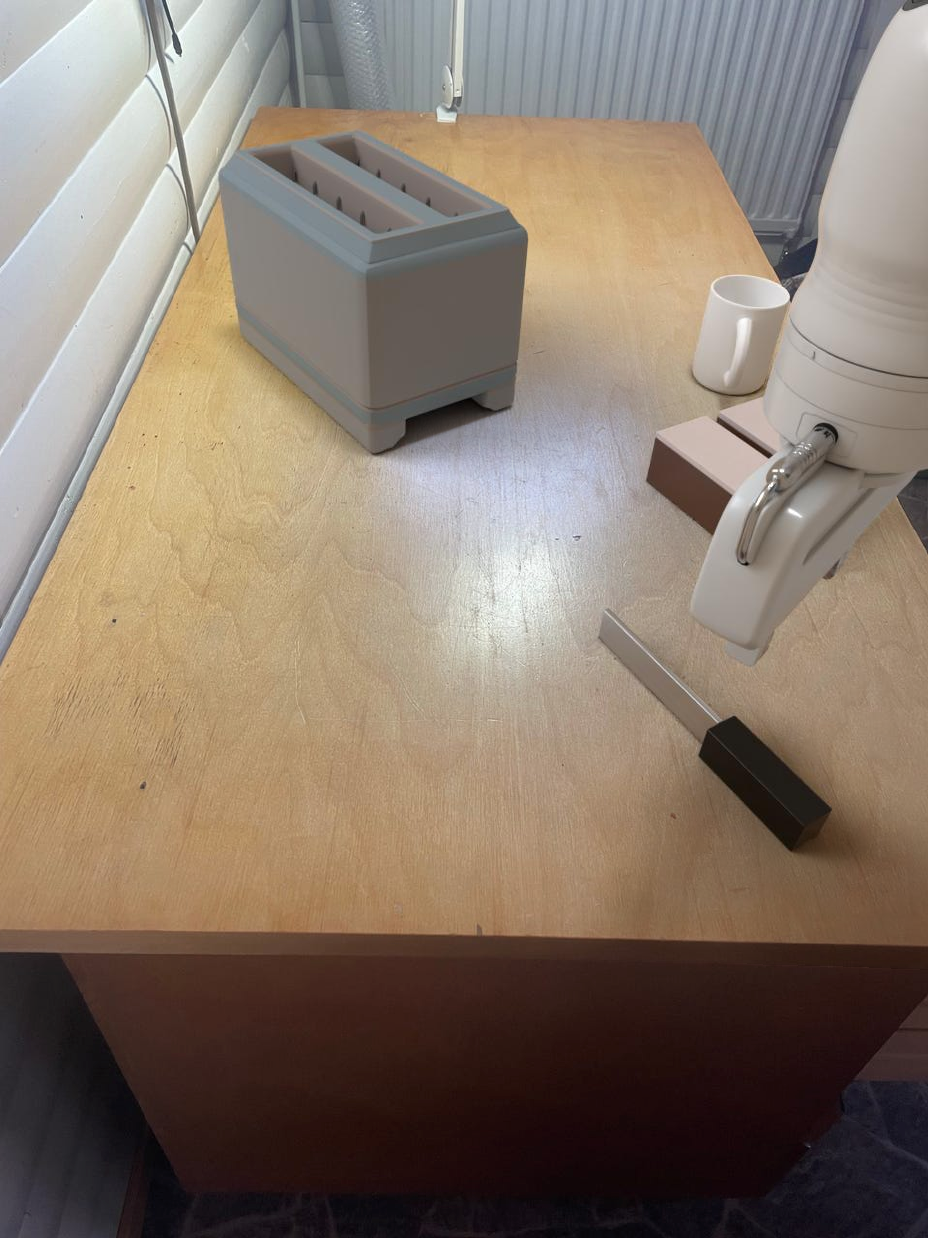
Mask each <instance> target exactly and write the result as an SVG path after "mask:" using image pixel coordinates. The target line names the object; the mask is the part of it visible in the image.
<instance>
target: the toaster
mask: <svg viewBox="0 0 928 1238" xmlns="http://www.w3.org/2000/svg"><path fill="white" fill-rule="evenodd" d="M217 179H218V182H217V183H218V186H219V187H218V189H219V196H220V203H221V209H222V217H223V224H224V231H225V238H226V246H227V253H228V260H229V267H230V274H231V280H232V281H231V282H232V287H233V288H232V289H233V295H234V302H235V308H236V311H237V313H236V314H237V319H238V328H239V333H240V336H241V337H242V338H243V339H244V340H245V341H246V342H247V343H248V344H249V345H250V346H251V347H252V348H253V349H255V350H256V351H257V352H258V353H260V355H261V356H263V357H264V359H266V361H268V362H269V363H271V364H272V366H274V367H275V368H276V369H277V370H278V371H279V372H280V373H282V375H284V376H285V378H287V379H288V380H289V381H290V382H291V383H293V384H294V386H296V387H297V388H298V389H300V391H301V392H303V393H304V394H305V395H306V396H307V397H308V398H309V399H310V400H311V401H313V402H314V403H315V404H316V405H317V406H318V407H319V408H320V409H321V410H323V411H324V413H326V414H327V415H328V416H329V417H330V418H331V419H332V420H333V421H335V422H336V423H337V424H338V425H339V426H341V427H342V428H343V429H344V430H345V431H346V432H347V433H348V434H349V435H350V436H351V437H352V438H354V439H355V440H356V441H357V442H358V443H359V444H360V445H361V446H363V447H364V448H365V449H366V450H367V451H368V452H369V453H371V454H377V453H381V452H383V451H384V452H385V451H387V450H390V449H392V448H394V447H395V445H396V444H397V443H398V442H399V441H400V439H402V438H403V437H404V436H405V435H406V420H407V419H409V418H413V417H416V416H419V415H421V414H424V413H427V412H431V411H433V410H437V409H439V408H442V407H445V406H448V405H451V404H455V403H457V402H460V401H464V400H465V399H469V398H471V399H472V400H473V401H474V402H476V403H477V404H478V405H480V406H481V407H483V408H487V409H490V410H491V411H493V412H497V411H500V410H502V409H506V408H508V407H511V406H512V405H513V403H514V400H515V392H516V391H515V390H516V380H517V371H518V360H519V351H520V350H519V349H520V339H521V327H522V326H521V325H522V317H523V315H522V313H523V303H524V294H525V293H524V292H525V283H526V269H527V260H528V259H527V258H528V249H529V248H528V247H529V233H528V231H527V229H526V227H525V226H523V224H521V223H519V221H518V220H517V219H516V218H515V216H514V215H513V214H512V212H511V210H510V208H509V207H508V206H507V205H505V204H502V203H501V202H498V201H496V200H495V199H493V198H491V197H489V196H487V195H485V194H483V193H481V192H479V191H478V190H475V189H474V188H472V187H470V186H468V185H466V184H464V183H462V182H460V181H459V180H456V179H455V178H453V177H451V176H449V175H447V174H445V173H443V172H441V171H439V170H437V169H436V168H434V167H432V166H430V165H428V164H426V163H424V162H422V161H421V160H418V159H416V158H415V157H412V156H411V155H409V154H407V153H405V152H403V151H401V150H399V149H398V148H396V147H394V146H392V145H390V144H388V143H386V142H385V141H382V140H381V139H379V138H378V137H375V136H373V135H371V134H369V133H367V132H365V131H364V130H361V129H357V130H349V131H343V132H338V133H332V134H326V135H321V136H320V135H319V136H314V137H309V138H303V139H297V140H290V141H285V142H279V143H271V144H267V145H266V144H265V145H261V146H253V147H248V148H241V149H237V150H234V151H233V154H232V155H231V157H230V158H229V160H227V162H226V163H225V164H224V166H223V167H221V168H220V169H219V171H218V178H217Z"/></svg>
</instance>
